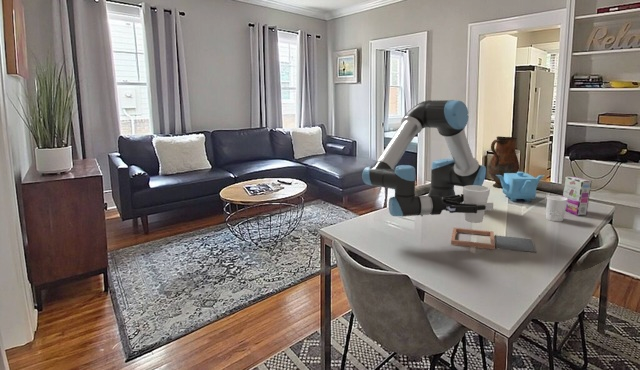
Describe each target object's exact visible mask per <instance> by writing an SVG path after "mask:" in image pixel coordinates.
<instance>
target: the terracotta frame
mask: <svg viewBox="0 0 640 370" xmlns="http://www.w3.org/2000/svg"><path fill="white" fill-rule="evenodd" d="M457 233H460V234H461V233H462V234H471V235H478V236H479V235H481V236H489V238H490V239H489V241H490V243H486V242H478V241H469V240H461V239H460V240H458V239H456V237H457ZM450 244H451V245H453V246H455V245H456V246H463V247H470V248H471V247H473V248H474V247H475V248H479V249H481V248H482V249H489V250H495V249H496V241H495V233H494V231H492V230H491V231H490V230H481V229H473V228H472V229H471V228H463V227H462V228H461V227H453V229H452V235H451V240H450Z"/></svg>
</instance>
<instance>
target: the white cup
mask: <svg viewBox="0 0 640 370" xmlns="http://www.w3.org/2000/svg"><path fill="white" fill-rule="evenodd" d="M567 200H568V199H567V198H565V197H563V196H560V195H548V196H546V205H545V207H546V209H545V213H546V215H545V218H546V220H548V221H552V222H564V218H565V216H566V215H565V214H566V212H567V211H566V206H567Z"/></svg>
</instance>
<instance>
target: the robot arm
mask: <svg viewBox="0 0 640 370" xmlns="http://www.w3.org/2000/svg"><path fill="white" fill-rule="evenodd" d="M468 122H469V110H468V107H467V105H466V104H465V103H464V102H463V101H462V100H457V99H456V100H455V99H448V100H444V99H443V100H442V99H441V100H438V99H437V100H436V99H435V100H432V99H431V100H428V99H427V100H424V101H421V102H419V103H418V104H416V105H414V106H413V107H411V109H409V110H408V111H407V112H406V113H405V115H404V116H403V118H402V119H401V122H400V123H401V124H400V126H399V127H398V129H397V130H396V132H395V133H394V135H393V136H392V138H391V139H390V141H389V142H388V144H387V145H386V147H385V148H384V150H383V152H382V153H381V154H380V156H379V157H378V159H377V160H376V162H375V163H374V165H373V166H372V165H369V166H366V167H365V168H364V169H363V171H362V173H361V174H362V175H361V178H362V181H363V183H364V184H366V185H367V186H373V187H377V188H378V187H380V188H386V189H392V190H394V196H391V197H390V198H389V199H388V211H389V214H390V215H391V217H414V216H420V217H423V216H430V215H431V216H434V215H436V216H437V215H439V216H440V215H441V214H442V213H443V211H446V212H449V214H453V213H462V214H463V213H464V214H465V213H477V211H484V210H485V211H493V210H494V202H487V203H476V204H465V203H464V197H463V193H461V194H456V191H455V186H457V187H462V188H463V187H464V186H468V185H479V186H483V184H484V182H485V179H486V174H487V168H486V167H487V166H485V165H483V164H479V161H478V160H477V158H475V157H473V153H472V151H471V147H470V144H469V142H468V138H467V135H466V132H465V128H466V126H467V125H468ZM424 128H429V129H430V128H431V129H437V131H438V133H439V135H440V136H441V137H444V139H445V142H446V145H447V147H448V150H449V153H450V155H451V158H441V159H436V160H434V161H432V163H431V168H430V170H431V173H430V189H429V191H428V194H427V195H416V179H417V178H416V168H415V167H414V166H413V165H409V164H408V165H407V164H401V165H398V163H399V162H400V160H401V159H402V156H403V155H404V154H405V152H406V151H407V149H408V148H409V146H410V145H411V143H412V142H413V140H414V138H415V137H416V135H417V134H419V133H421V132H422V130H423V129H424Z"/></svg>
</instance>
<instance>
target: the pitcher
mask: <svg viewBox="0 0 640 370" xmlns="http://www.w3.org/2000/svg"><path fill="white" fill-rule="evenodd" d="M516 142H517V137H516V136H496V139H494V140H493V141H492V142H491V144H490V150H491V152H492V153H493V155H492V157H491V158H490V160H489V163H488V165H487V170H488V174H489V177H491V178H492V180H493V181H494V183H493V184H492V187H493V188H496V189H503V187H502V185H501V180H500V178H499V177H498V176H496V175H501V176H503V178H504V173H517V172H520V162H519V159H518V155H517V154H516V153H517V152H516Z"/></svg>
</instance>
